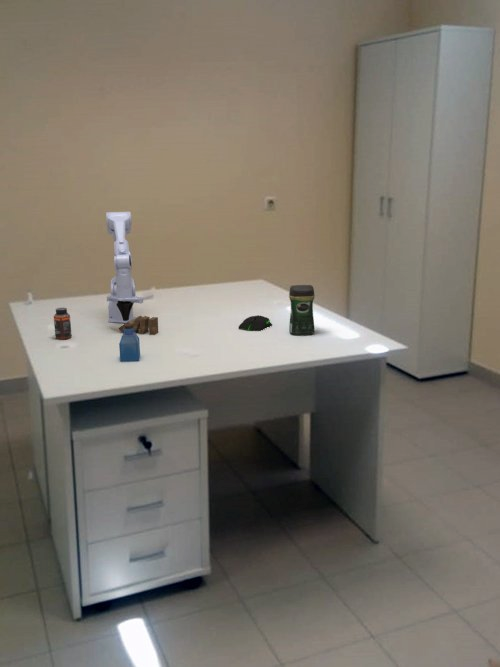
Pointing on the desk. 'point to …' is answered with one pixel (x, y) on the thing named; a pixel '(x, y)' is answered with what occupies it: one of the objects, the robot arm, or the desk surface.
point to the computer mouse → (255, 323)
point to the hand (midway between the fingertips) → (126, 320)
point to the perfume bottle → (129, 344)
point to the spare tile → (125, 323)
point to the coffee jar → (301, 310)
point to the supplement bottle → (62, 324)
